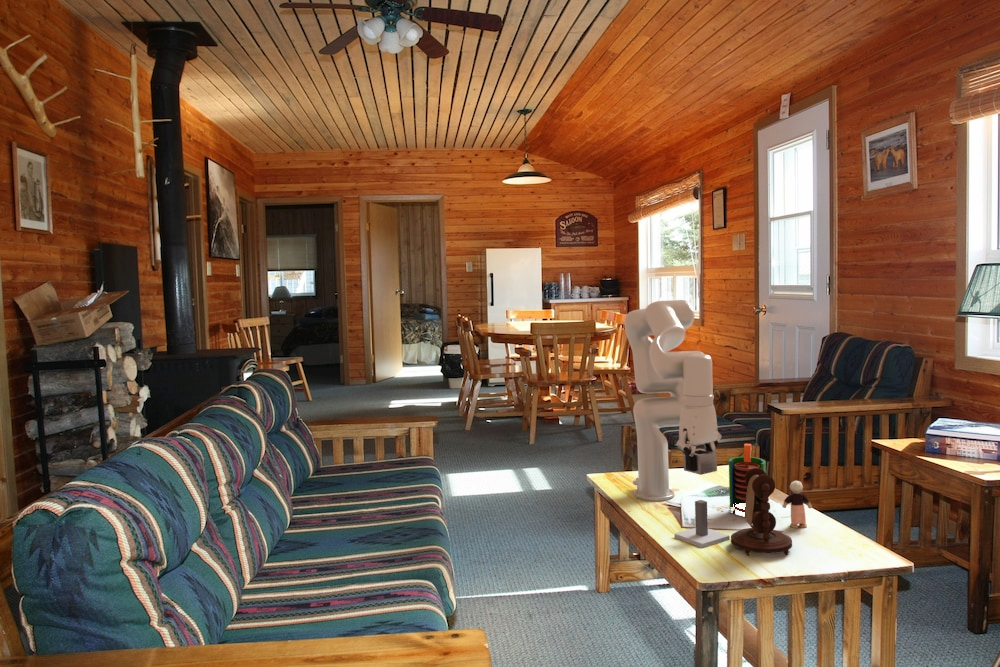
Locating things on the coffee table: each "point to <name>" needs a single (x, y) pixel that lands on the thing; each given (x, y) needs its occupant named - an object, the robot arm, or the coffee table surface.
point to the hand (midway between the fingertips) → (700, 467)
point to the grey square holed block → (704, 461)
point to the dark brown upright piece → (760, 518)
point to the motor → (742, 475)
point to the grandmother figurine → (797, 505)
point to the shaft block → (701, 529)
